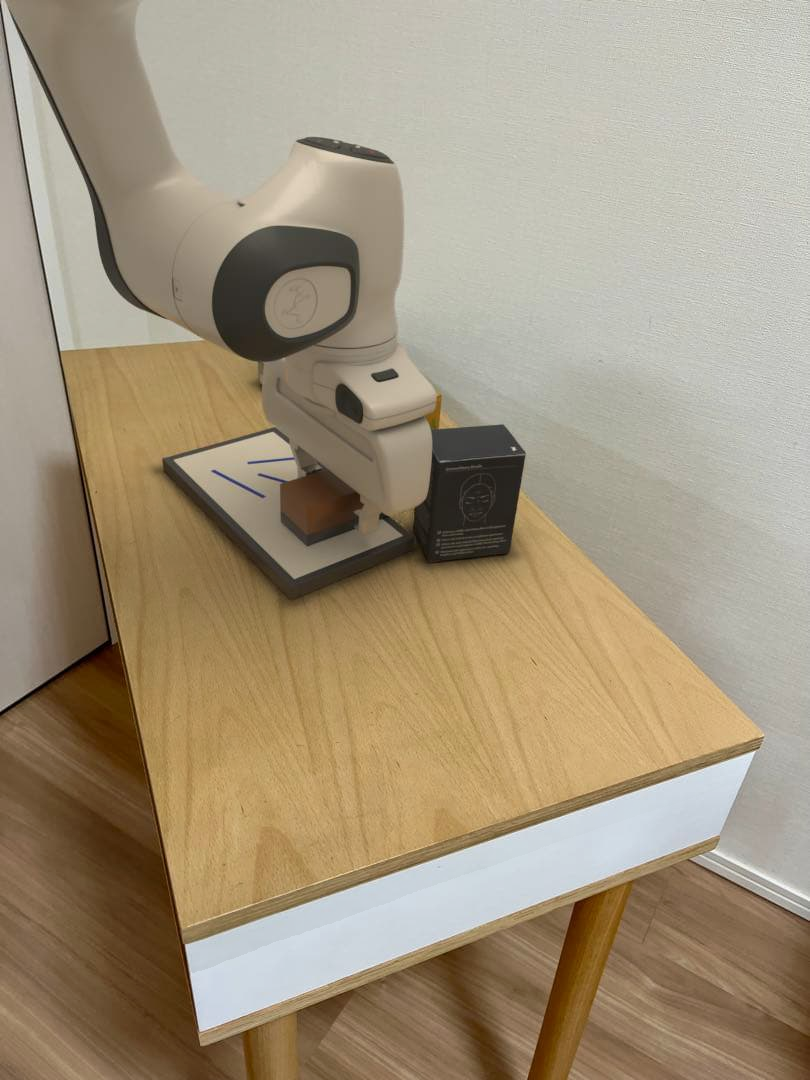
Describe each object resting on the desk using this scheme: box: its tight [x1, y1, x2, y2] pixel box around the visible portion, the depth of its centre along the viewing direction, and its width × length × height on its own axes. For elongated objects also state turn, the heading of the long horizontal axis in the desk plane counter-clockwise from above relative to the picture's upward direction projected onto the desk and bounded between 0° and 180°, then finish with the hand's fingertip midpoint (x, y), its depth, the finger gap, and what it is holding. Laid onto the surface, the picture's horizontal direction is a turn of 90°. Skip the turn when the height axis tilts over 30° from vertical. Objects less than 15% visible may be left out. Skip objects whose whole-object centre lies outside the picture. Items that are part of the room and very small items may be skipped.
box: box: [412, 423, 527, 563], centre depth 72 cm, size 8×6×11 cm
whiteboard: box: [161, 426, 416, 601], centre depth 77 cm, size 13×24×1 cm, turn 38°
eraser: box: [280, 469, 390, 546], centre depth 73 cm, size 9×4×4 cm, turn 128°
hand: (336, 505), depth 73 cm, fingers open, 7 cm apart
